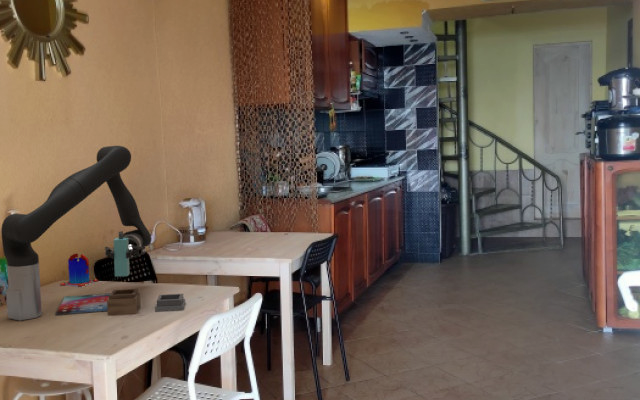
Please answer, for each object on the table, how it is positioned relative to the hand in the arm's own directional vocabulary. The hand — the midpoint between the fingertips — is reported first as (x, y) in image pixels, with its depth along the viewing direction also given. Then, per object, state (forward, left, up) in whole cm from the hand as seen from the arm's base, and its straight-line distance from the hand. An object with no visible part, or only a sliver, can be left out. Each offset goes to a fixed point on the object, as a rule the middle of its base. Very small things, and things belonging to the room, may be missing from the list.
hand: (120, 255), depth 206 cm
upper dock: (+2, +2, -19) cm, 19 cm away
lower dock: (+12, -9, -19) cm, 25 cm away
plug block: (+2, +2, -7) cm, 8 cm away
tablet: (+3, +20, -20) cm, 28 cm away
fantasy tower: (+23, +48, -19) cm, 56 cm away
